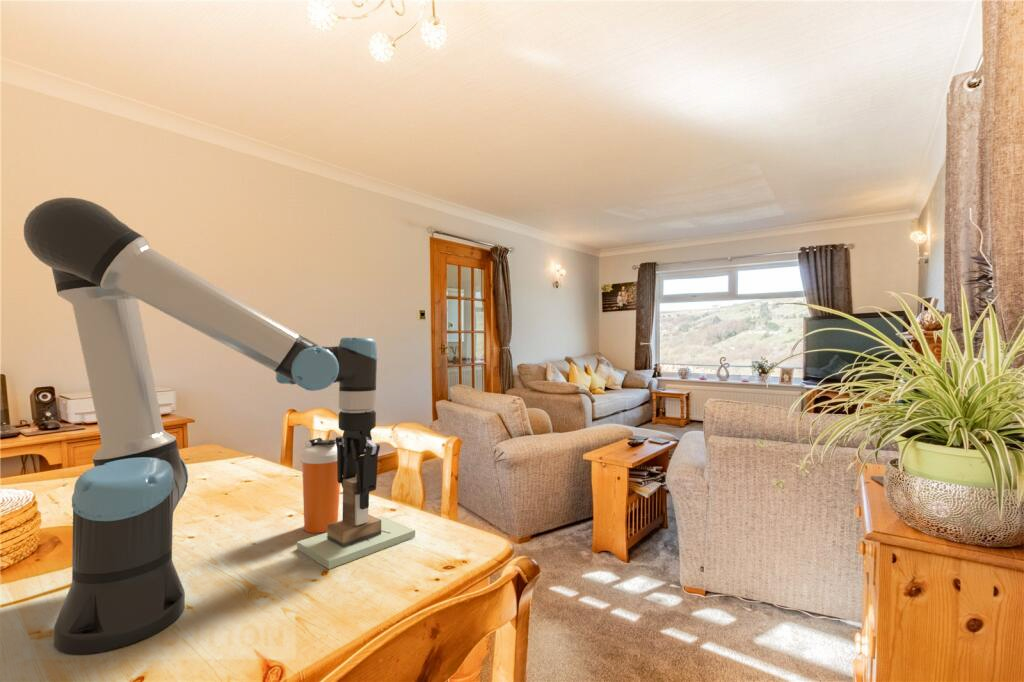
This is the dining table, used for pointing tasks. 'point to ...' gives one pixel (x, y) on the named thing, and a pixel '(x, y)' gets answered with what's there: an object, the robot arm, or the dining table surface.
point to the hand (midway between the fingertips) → (355, 520)
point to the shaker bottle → (320, 484)
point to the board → (337, 555)
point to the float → (351, 520)
